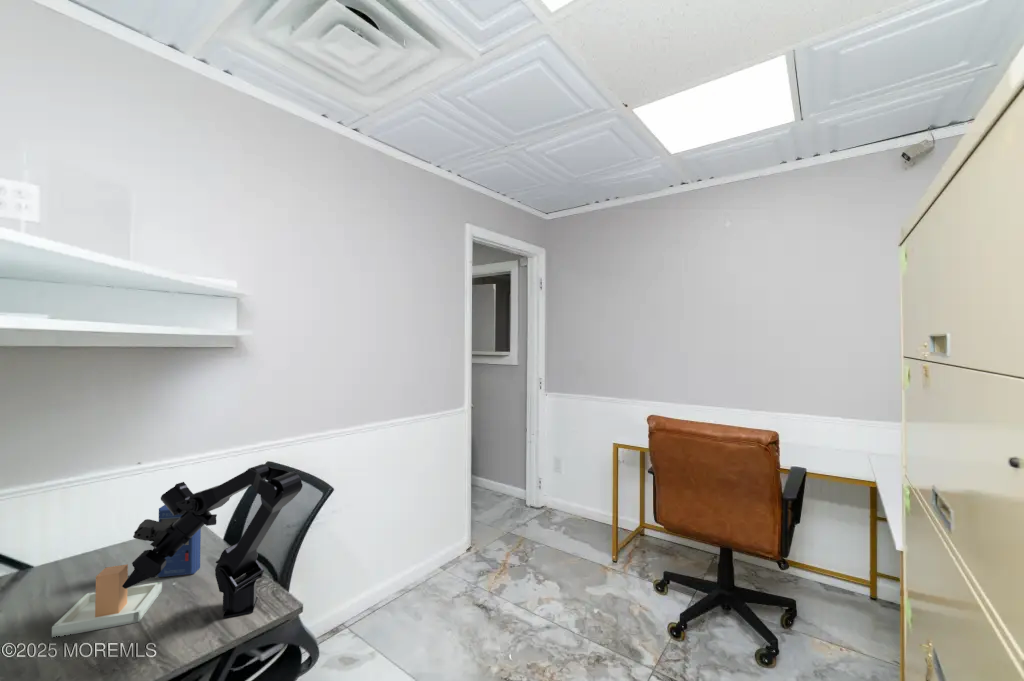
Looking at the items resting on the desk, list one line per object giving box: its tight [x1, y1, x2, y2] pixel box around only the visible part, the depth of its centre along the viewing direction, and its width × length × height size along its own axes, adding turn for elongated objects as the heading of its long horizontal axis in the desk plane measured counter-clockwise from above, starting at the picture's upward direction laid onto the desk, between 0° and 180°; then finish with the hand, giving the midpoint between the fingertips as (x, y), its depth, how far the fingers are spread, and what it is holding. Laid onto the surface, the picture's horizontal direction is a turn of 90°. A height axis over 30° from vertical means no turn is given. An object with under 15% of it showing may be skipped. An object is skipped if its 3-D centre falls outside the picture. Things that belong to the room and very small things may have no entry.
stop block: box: [95, 564, 129, 617], centre depth 107 cm, size 4×4×10 cm
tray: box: [51, 581, 163, 639], centre depth 107 cm, size 16×14×2 cm
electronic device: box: [157, 504, 202, 578], centre depth 126 cm, size 10×5×20 cm, turn 102°
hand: (132, 577), depth 108 cm, fingers open, 9 cm apart
